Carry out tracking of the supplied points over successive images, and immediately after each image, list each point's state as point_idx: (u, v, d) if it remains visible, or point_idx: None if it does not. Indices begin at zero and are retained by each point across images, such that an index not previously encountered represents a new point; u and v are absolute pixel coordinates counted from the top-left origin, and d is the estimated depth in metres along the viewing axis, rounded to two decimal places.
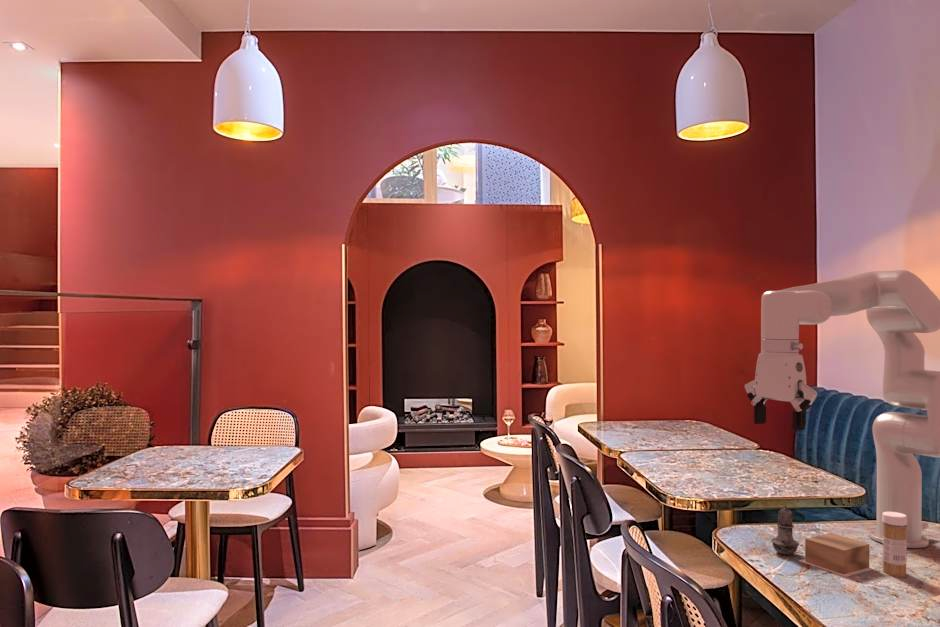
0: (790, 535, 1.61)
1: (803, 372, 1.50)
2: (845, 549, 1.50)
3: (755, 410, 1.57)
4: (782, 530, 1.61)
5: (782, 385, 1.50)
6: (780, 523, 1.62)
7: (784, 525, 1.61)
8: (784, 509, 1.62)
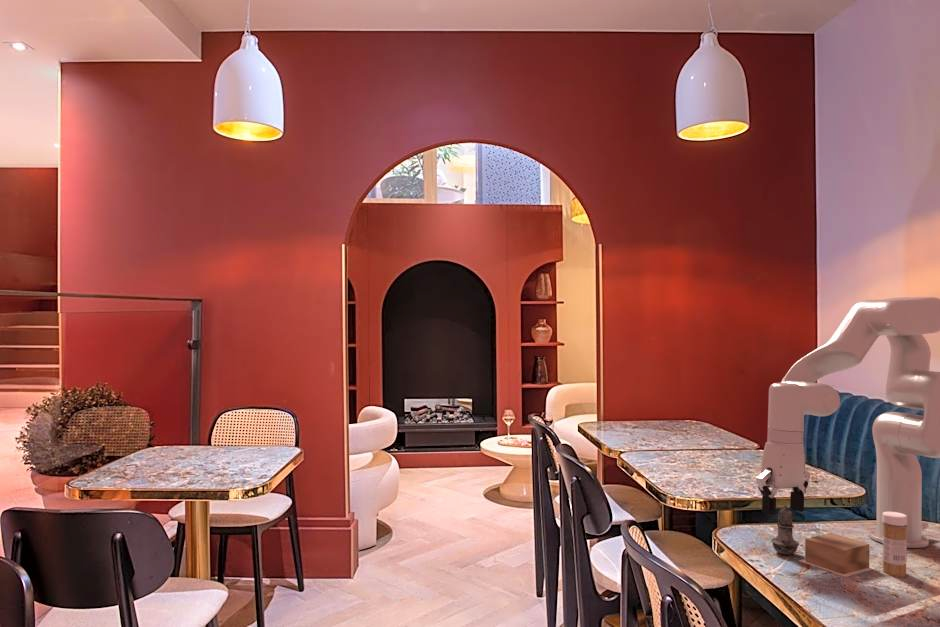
0: (790, 535, 1.61)
1: None
2: (845, 549, 1.50)
3: (775, 502, 1.58)
4: (782, 530, 1.61)
5: (800, 472, 1.61)
6: (780, 523, 1.62)
7: (784, 525, 1.61)
8: (784, 509, 1.62)
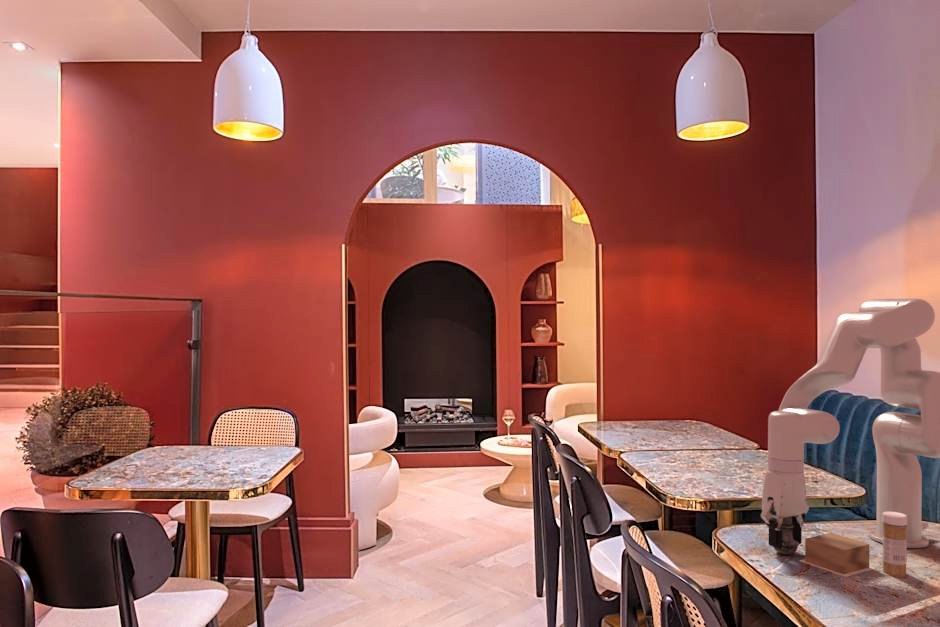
0: (790, 535, 1.61)
1: None
2: (845, 549, 1.50)
3: (781, 535, 1.59)
4: (781, 530, 1.61)
5: (801, 501, 1.61)
6: None
7: (784, 525, 1.61)
8: None
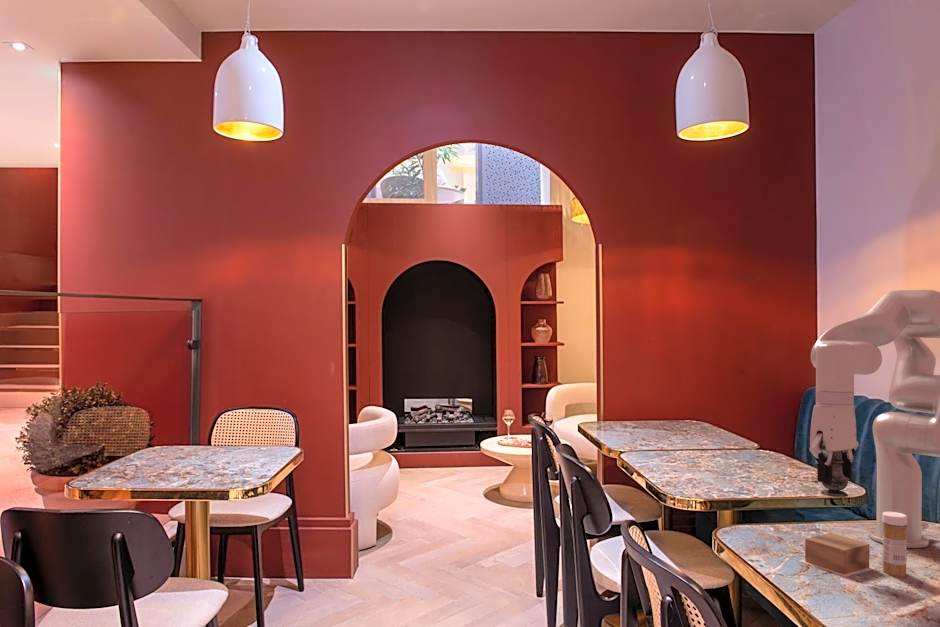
0: (840, 470, 1.55)
1: None
2: (845, 549, 1.50)
3: (831, 470, 1.53)
4: None
5: (851, 435, 1.55)
6: None
7: (834, 460, 1.55)
8: None
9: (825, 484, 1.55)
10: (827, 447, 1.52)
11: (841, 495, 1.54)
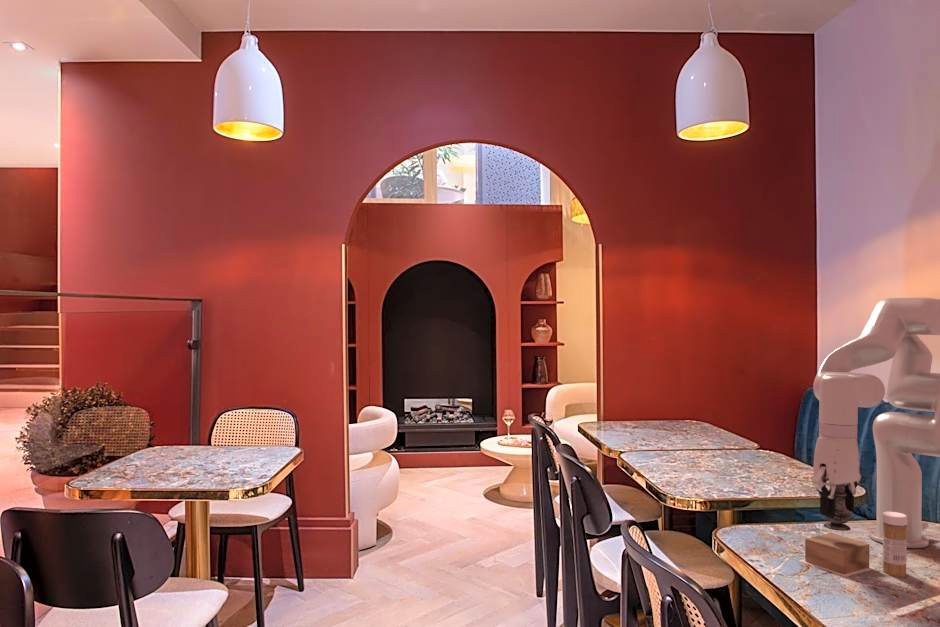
0: (843, 503, 1.54)
1: None
2: (845, 549, 1.50)
3: (834, 503, 1.52)
4: (834, 498, 1.54)
5: (854, 468, 1.54)
6: None
7: (837, 493, 1.54)
8: None
9: (828, 517, 1.54)
10: (830, 480, 1.51)
11: (844, 529, 1.53)
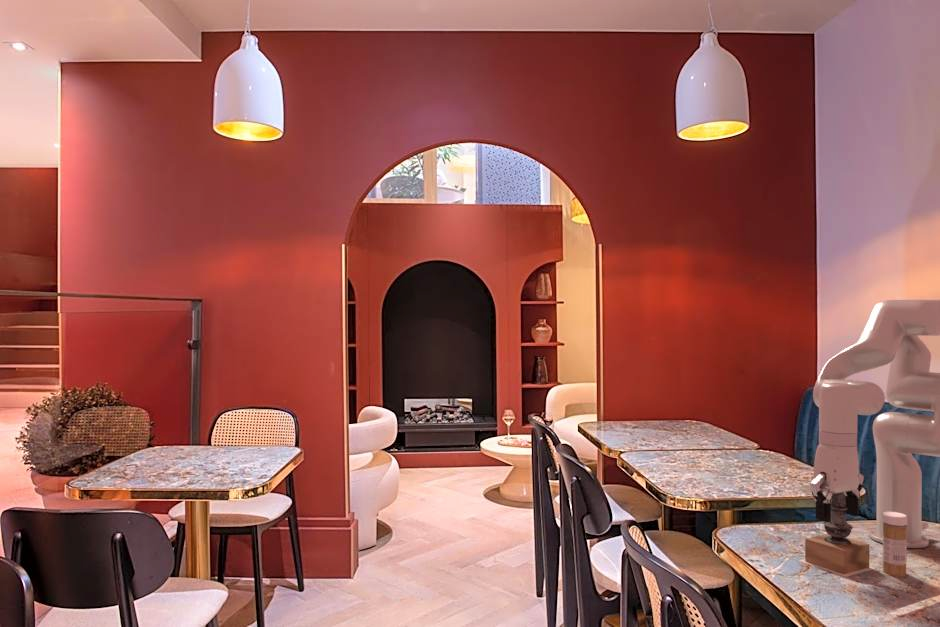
0: (844, 518, 1.54)
1: None
2: (845, 549, 1.50)
3: (830, 508, 1.52)
4: (835, 512, 1.54)
5: (854, 476, 1.54)
6: (833, 505, 1.55)
7: (838, 507, 1.54)
8: None
9: (828, 531, 1.55)
10: (830, 489, 1.51)
11: (844, 543, 1.53)
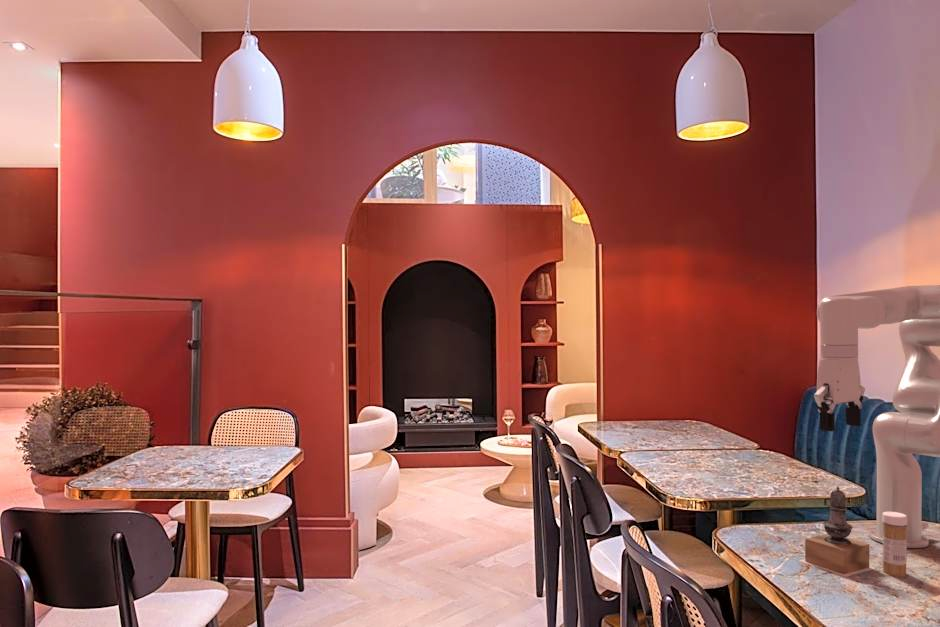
0: (843, 518, 1.54)
1: None
2: (845, 549, 1.50)
3: (833, 417, 1.56)
4: (834, 512, 1.54)
5: (856, 387, 1.59)
6: (833, 505, 1.55)
7: (837, 507, 1.54)
8: (836, 490, 1.55)
9: (828, 531, 1.55)
10: (834, 399, 1.56)
11: (844, 543, 1.53)
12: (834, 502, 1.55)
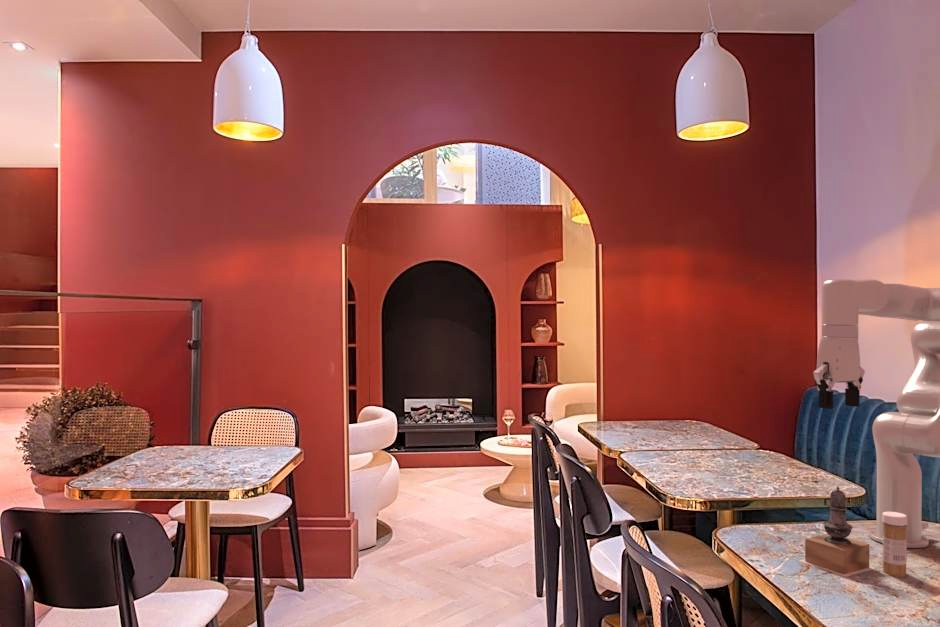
0: (843, 518, 1.54)
1: None
2: (845, 549, 1.50)
3: (832, 395, 1.60)
4: (834, 512, 1.54)
5: (855, 367, 1.63)
6: (833, 505, 1.55)
7: (837, 507, 1.54)
8: (836, 490, 1.55)
9: (828, 531, 1.55)
10: (833, 377, 1.60)
11: (844, 543, 1.53)
12: (834, 502, 1.55)
